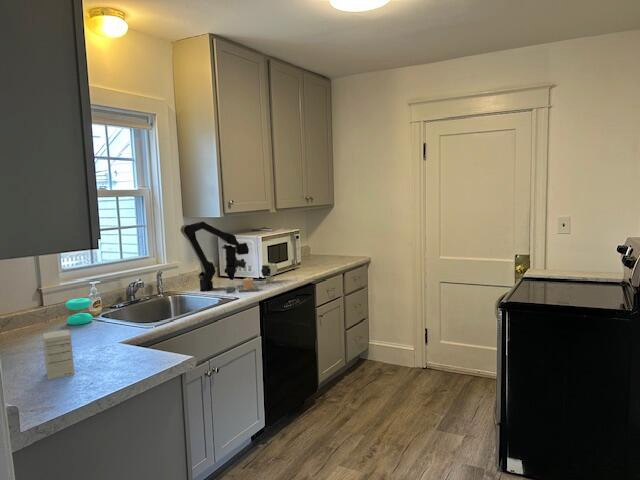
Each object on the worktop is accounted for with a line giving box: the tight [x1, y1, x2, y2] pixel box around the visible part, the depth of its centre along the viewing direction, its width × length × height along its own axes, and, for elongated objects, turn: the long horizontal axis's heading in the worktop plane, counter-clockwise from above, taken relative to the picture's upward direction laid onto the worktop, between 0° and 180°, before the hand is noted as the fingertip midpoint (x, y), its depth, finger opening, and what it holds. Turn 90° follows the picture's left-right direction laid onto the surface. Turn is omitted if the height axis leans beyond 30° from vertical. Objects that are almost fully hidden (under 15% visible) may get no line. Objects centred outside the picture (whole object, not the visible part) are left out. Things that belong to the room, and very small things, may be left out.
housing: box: [242, 277, 254, 289], centre depth 262 cm, size 5×5×6 cm
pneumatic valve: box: [260, 262, 278, 284], centre depth 284 cm, size 6×12×12 cm, turn 157°
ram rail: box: [225, 285, 236, 294], centre depth 265 cm, size 3×14×3 cm, turn 5°
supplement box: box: [42, 329, 75, 381], centre depth 144 cm, size 7×7×13 cm
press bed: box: [238, 286, 259, 293], centre depth 263 cm, size 10×8×1 cm
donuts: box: [65, 297, 94, 326], centre depth 206 cm, size 10×10×10 cm
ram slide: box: [227, 279, 235, 287], centre depth 269 cm, size 3×3×4 cm
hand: (232, 282), depth 276 cm, fingers closed
